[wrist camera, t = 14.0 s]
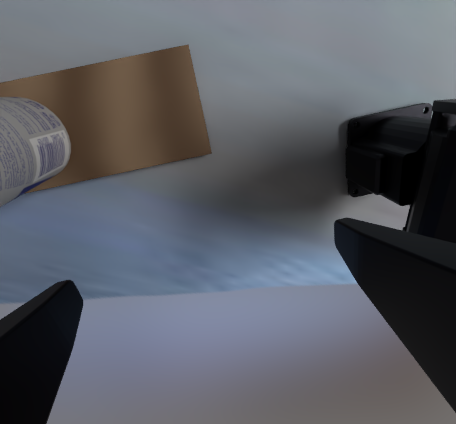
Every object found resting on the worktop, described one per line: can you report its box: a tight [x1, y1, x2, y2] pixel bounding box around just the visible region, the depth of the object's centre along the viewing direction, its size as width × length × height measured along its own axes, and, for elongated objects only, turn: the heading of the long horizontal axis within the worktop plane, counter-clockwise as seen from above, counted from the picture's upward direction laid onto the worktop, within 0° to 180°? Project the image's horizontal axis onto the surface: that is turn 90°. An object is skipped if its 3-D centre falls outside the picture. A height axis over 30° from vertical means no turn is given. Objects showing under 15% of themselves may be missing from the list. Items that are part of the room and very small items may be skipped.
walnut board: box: [0, 45, 212, 193], centre depth 18 cm, size 16×7×1 cm, turn 101°
